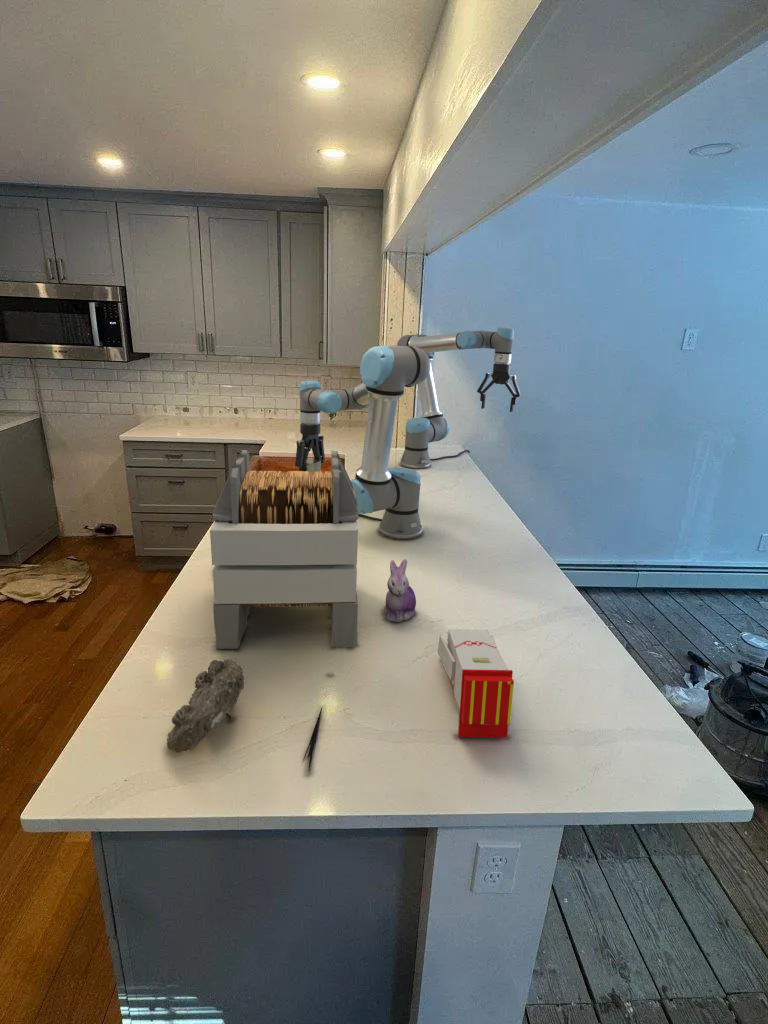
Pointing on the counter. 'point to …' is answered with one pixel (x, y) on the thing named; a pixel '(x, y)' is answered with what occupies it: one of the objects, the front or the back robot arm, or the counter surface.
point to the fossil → (206, 705)
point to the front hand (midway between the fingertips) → (310, 481)
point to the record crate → (285, 547)
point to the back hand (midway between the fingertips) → (496, 410)
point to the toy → (478, 682)
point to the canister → (313, 465)
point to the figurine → (399, 594)
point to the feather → (313, 740)
